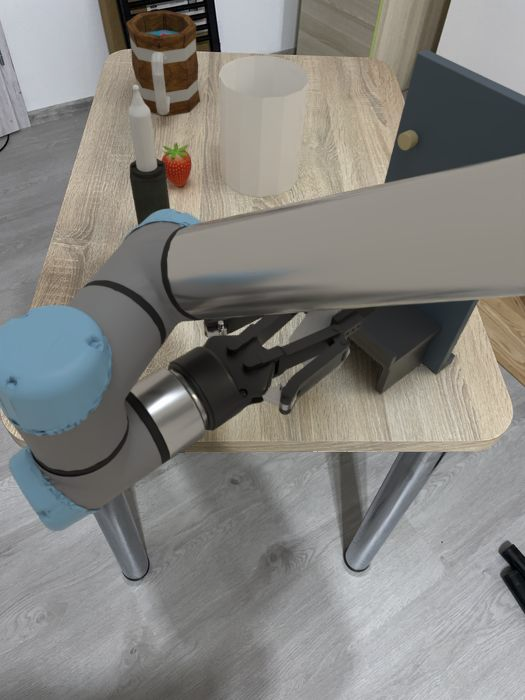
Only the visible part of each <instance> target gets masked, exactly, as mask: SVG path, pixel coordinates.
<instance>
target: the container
mask: <svg viewBox="0 0 525 700" xmlns="http://www.w3.org/2000/svg"><path fill="white" fill-rule="evenodd" d="M309 84H310V78H309V76H308V73H307V70H306V69H305V68H303V67H302V66H300V65H299V64H298V63H296V62H295V61H293V60H290V59H287V58H286V59H285V58H282V57H279V56H275V55H257V54H254V55H248V56H243V57H236V58H234V59H232V60H231V61H229V62H227V63H225V64H223V65H222V67H221V69H220V71H219V74H218V106H219V107H218V109H219V111H218V112H219V116H218V117H219V151H220V152H219V156H220V157H219V159H220V160H219V161H220V162H219V163H220V165H219V166H220V176H221V178H222V180H223V182H224V184H225V186H227V187H229V188H230V189H231V190H234V191H235V192H237V193H238V194H239V195H245V196H250V197H254V198H255V197H256V198H265V197H266V198H267V197H275V196H276V197H277V196H279V195H282V194H283V193H284V194H285V193H286V192H288V191H290V190H292V189H293V188H294V186H295V185H296V184H297V181H298V180H299V176H300V168H301V167H300V166H301V159H302V148H303V140H304V139H303V138H304V133H305V132H304V130H305V121H306V114H307V113H306V112H307V104H308V103H307V102H308V96H309V95H308V94H309Z"/></svg>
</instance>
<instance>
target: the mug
mask: <svg viewBox="0 0 525 700" xmlns="http://www.w3.org/2000/svg"><path fill="white" fill-rule="evenodd" d="M125 25H126V28H127V33H128V36H129V41H130V49H131V64H132V69H133V74H134V77H135V85H138V86H139V92H140V94H141V97H142V99H143V101H144V103H145V104H146V105H147V106H148V108H149V109H150V112H151V114H155V115H159V116H163V117H170V116H175V115H181V114H186V113H191V111H192V110H193V109H195V107H196V106H197V105H198V104H199V103H200V102H201V98H200V92H199V60H198V53H197V52H198V51H197V24H196V22H194V20H193V19H192V18H191V17H190V16H189V15H188V14H185V13H180V12H176V11H170V10H167V9H166V10H165V9H162V10H154V11H147V12H146V11H145V12H139V13H138V14H136V15H135V16H133V17H132V18H130V19H129V20H128V21H126V23H125Z"/></svg>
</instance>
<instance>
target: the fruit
mask: <svg viewBox="0 0 525 700" xmlns="http://www.w3.org/2000/svg"><path fill="white" fill-rule="evenodd" d="M162 147H163V148H164V149H165V150H166V151H164V150H163V151H161V152H162V153H164V154H163V156H162V158H161V161H163V162H164V163H165V168H166V177H167V180H168V181H169V182H171V183H172V184H173V185H175V186H177V187H183V186H184V185H185V184H186V183H187V181H188V179H189V178H190V175H191V171H192V167H193V166H192V158H191V157H192V156H191V155H190V154H189V152H188V151H187V150H186V149H188V147H189V144H186V145H184V146H182V147H179V144H178V142H177V141H176V142H175V143H174V145H173V148H171V147H168V146H165V145H163V146H162Z"/></svg>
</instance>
